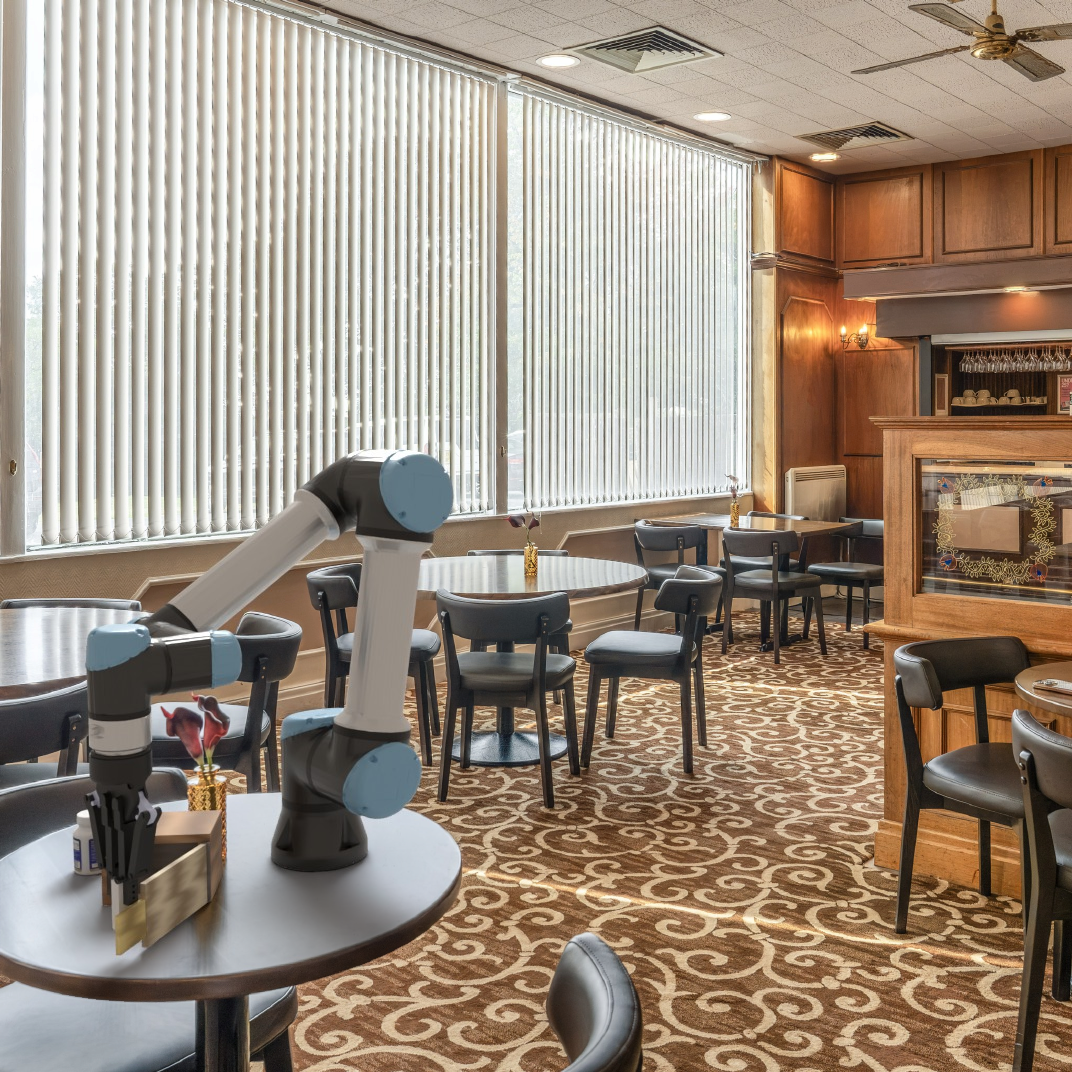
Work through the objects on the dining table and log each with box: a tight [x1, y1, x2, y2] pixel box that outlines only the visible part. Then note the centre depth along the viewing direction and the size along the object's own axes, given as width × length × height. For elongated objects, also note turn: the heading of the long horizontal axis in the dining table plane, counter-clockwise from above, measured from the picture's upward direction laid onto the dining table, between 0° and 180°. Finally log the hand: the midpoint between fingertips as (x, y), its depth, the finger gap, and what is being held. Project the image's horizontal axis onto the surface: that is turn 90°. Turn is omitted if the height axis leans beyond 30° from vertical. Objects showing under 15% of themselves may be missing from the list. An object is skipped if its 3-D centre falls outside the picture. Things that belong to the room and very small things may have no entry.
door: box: [114, 841, 212, 957], centre depth 149 cm, size 21×1×8 cm, turn 165°
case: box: [100, 809, 224, 907], centre depth 164 cm, size 15×10×10 cm
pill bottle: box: [72, 809, 101, 876], centre depth 171 cm, size 5×5×9 cm
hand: (125, 926), depth 144 cm, fingers closed
